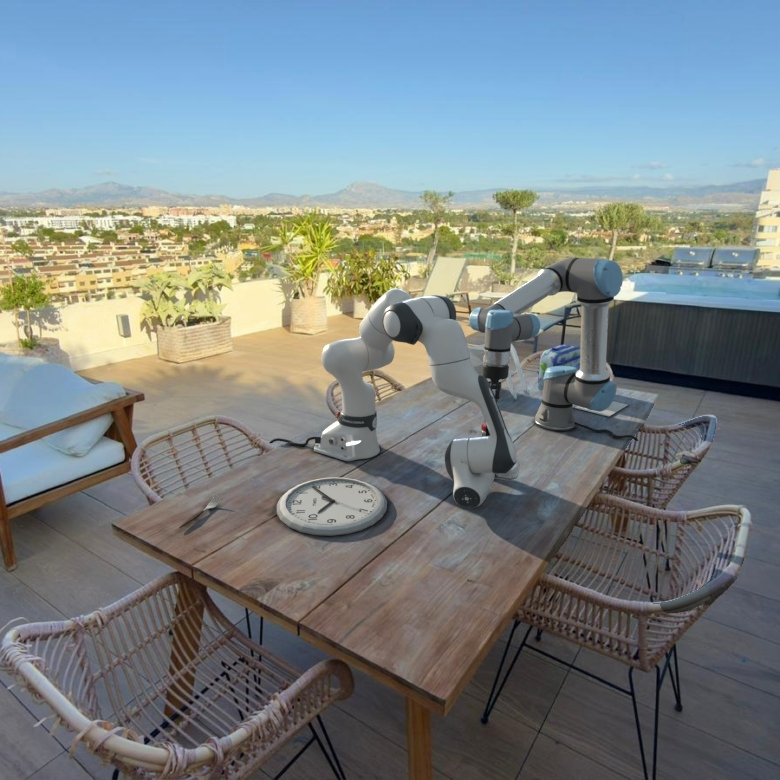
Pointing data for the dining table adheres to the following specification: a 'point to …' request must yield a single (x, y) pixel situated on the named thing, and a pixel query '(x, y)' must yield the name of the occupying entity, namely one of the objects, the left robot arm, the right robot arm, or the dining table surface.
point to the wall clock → (331, 506)
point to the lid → (483, 426)
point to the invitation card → (609, 411)
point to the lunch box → (558, 360)
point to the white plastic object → (478, 365)
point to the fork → (209, 506)
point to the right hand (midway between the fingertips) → (490, 436)
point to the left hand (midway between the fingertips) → (489, 454)
